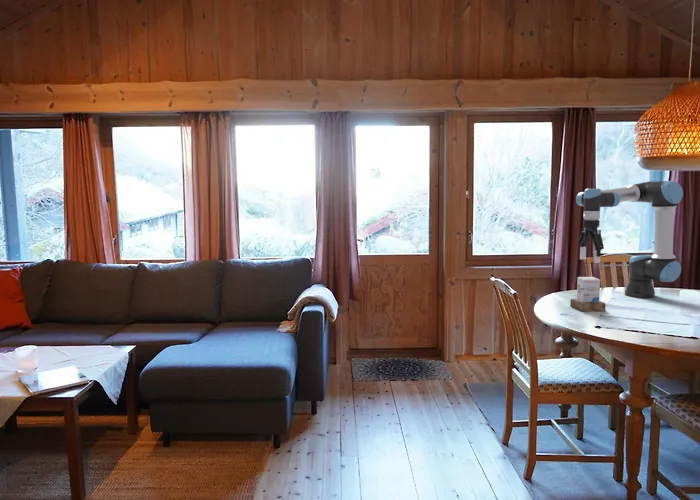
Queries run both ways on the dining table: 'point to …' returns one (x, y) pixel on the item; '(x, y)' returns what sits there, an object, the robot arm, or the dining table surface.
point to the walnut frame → (587, 305)
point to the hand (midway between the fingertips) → (589, 261)
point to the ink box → (588, 289)
